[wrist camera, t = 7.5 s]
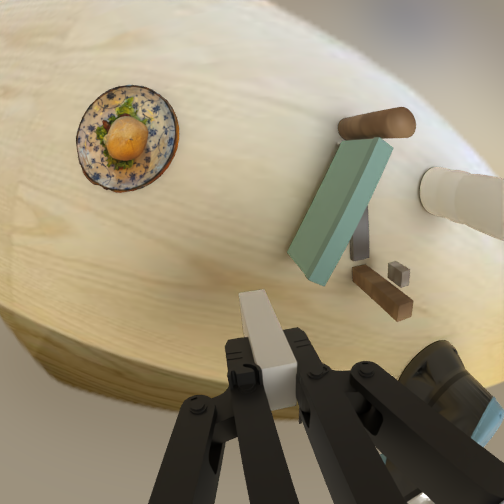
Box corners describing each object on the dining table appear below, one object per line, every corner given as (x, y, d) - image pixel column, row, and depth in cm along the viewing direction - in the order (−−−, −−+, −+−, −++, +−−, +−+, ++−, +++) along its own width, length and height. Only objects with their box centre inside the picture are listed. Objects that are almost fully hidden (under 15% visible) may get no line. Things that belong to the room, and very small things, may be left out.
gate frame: (377, 274, 37) (424, 311, 27) (350, 281, 37) (394, 323, 26) (367, 117, 30) (425, 108, 20) (336, 118, 30) (389, 106, 19)
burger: (123, 71, 25) (101, 49, 18) (202, 124, 28) (199, 113, 21) (64, 156, 27) (31, 158, 19) (137, 211, 30) (118, 227, 23)
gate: (340, 140, 29) (379, 137, 22) (353, 148, 30) (393, 148, 22) (285, 251, 32) (308, 280, 25) (298, 257, 33) (324, 286, 25)
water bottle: (420, 219, 36) (565, 286, 12) (414, 171, 33) (577, 211, 10) (450, 207, 36) (582, 260, 13) (445, 162, 34) (589, 195, 10)
